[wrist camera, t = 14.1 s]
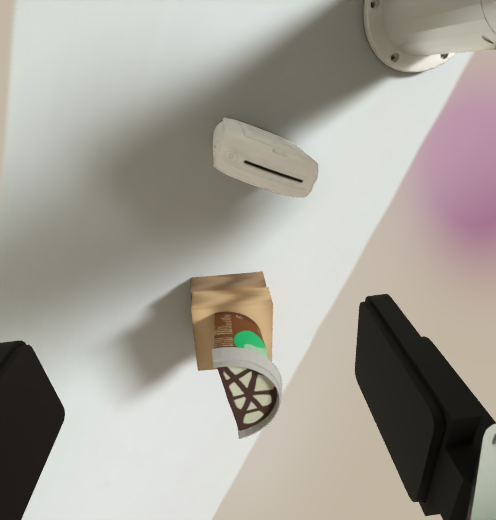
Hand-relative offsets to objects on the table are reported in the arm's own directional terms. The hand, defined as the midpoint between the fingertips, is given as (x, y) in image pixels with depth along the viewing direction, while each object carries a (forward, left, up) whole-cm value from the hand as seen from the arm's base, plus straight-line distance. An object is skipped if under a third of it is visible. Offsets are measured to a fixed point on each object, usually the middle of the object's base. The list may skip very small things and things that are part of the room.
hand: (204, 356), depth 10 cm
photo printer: (-5, +1, -35) cm, 35 cm away
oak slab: (-1, +23, -31) cm, 39 cm away
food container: (-3, +23, -28) cm, 36 cm away
